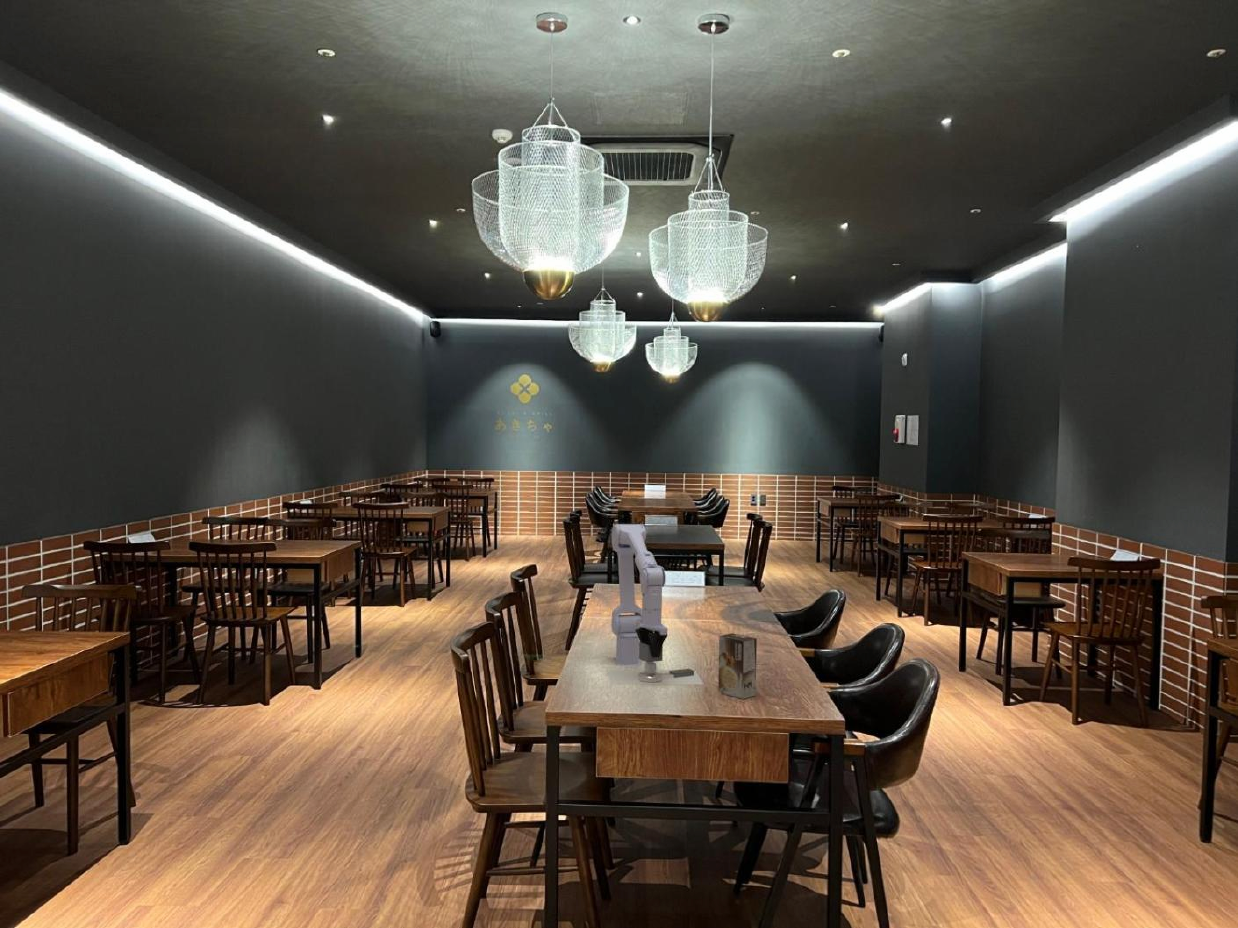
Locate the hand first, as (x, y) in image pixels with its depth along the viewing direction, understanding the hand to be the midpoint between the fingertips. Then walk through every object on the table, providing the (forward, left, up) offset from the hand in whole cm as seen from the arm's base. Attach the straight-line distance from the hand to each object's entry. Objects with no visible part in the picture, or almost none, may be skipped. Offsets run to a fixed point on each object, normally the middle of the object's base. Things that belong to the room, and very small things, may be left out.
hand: (650, 654), depth 255 cm
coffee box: (+13, +23, -8) cm, 28 cm away
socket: (0, 0, -1) cm, 1 cm away
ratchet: (-2, +5, -7) cm, 9 cm away
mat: (-3, +1, -8) cm, 8 cm away
